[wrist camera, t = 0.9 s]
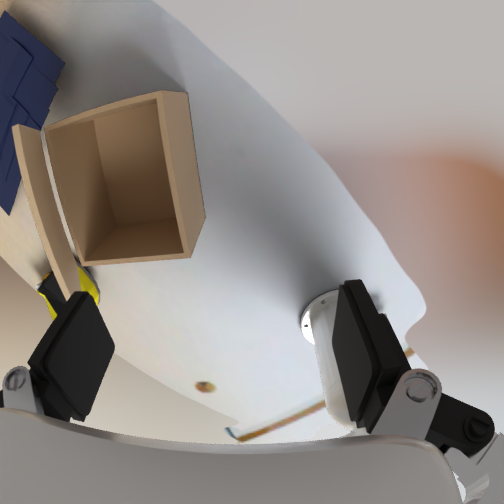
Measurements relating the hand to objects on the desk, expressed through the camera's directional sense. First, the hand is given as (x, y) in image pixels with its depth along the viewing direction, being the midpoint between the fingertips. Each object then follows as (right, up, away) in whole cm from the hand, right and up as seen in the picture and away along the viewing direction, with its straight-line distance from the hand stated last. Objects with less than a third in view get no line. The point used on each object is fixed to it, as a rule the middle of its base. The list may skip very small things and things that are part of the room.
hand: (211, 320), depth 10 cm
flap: (-16, +6, +11) cm, 20 cm away
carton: (-13, +14, +26) cm, 32 cm away
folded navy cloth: (-40, +26, +20) cm, 51 cm away
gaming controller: (-31, -3, +36) cm, 48 cm away
